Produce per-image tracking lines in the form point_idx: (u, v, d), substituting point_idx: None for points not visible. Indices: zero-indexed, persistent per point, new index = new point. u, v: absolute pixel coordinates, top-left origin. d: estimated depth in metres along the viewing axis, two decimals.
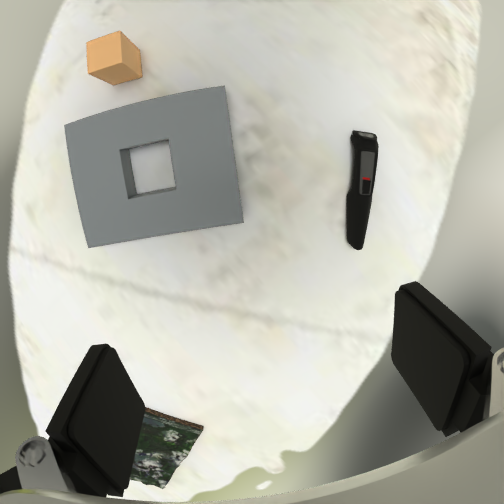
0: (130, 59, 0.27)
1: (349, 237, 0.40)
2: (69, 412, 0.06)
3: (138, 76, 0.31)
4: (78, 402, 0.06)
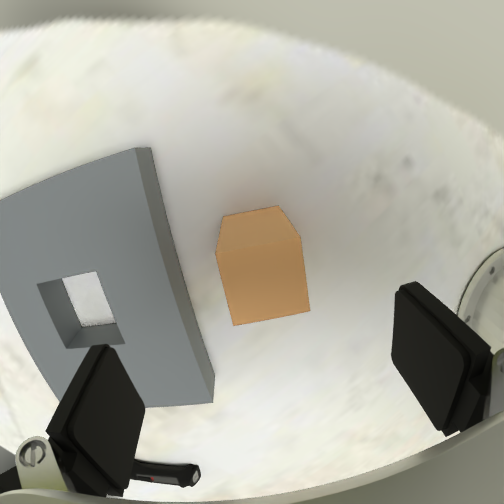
0: None
1: None
2: (69, 412, 0.06)
3: None
4: (78, 402, 0.06)
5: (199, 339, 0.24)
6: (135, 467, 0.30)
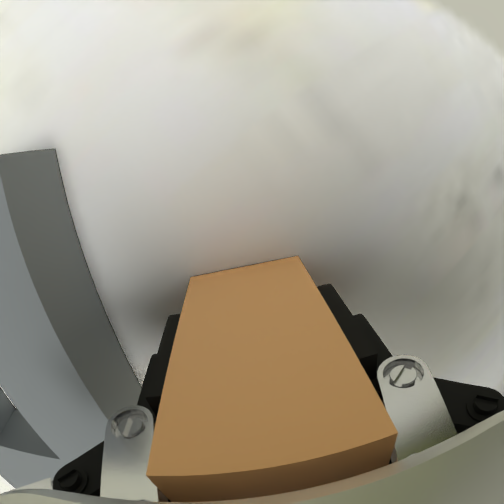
0: None
1: None
2: None
3: None
4: None
5: None
6: None
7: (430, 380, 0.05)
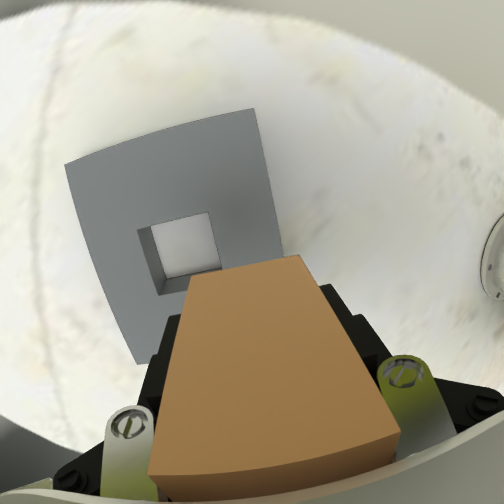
0: None
1: None
2: None
3: None
4: None
5: None
6: None
7: (430, 380, 0.05)
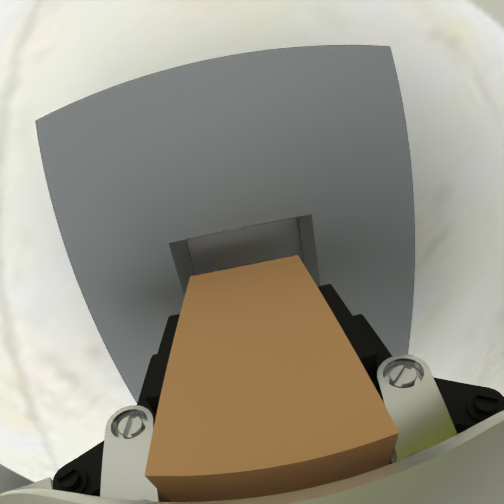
0: None
1: None
2: None
3: None
4: None
5: None
6: None
7: (430, 380, 0.05)
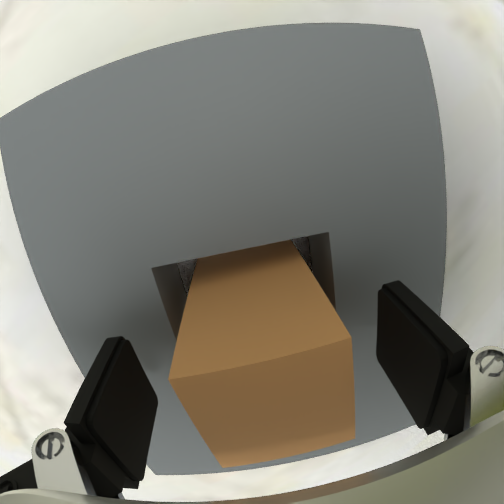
0: None
1: None
2: (88, 403, 0.06)
3: None
4: (96, 393, 0.06)
5: None
6: None
7: None
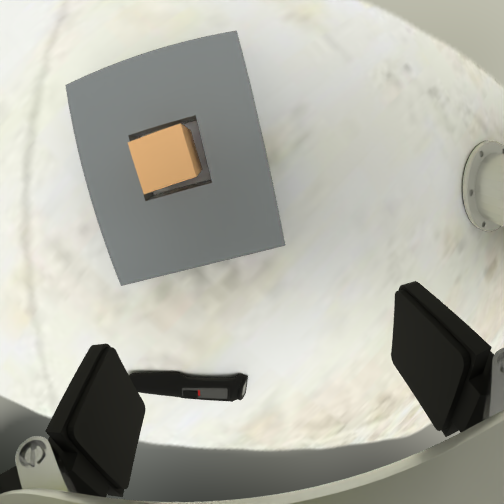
0: None
1: (135, 377, 0.34)
2: (70, 412, 0.06)
3: None
4: (78, 402, 0.06)
5: None
6: (181, 380, 0.35)
7: None
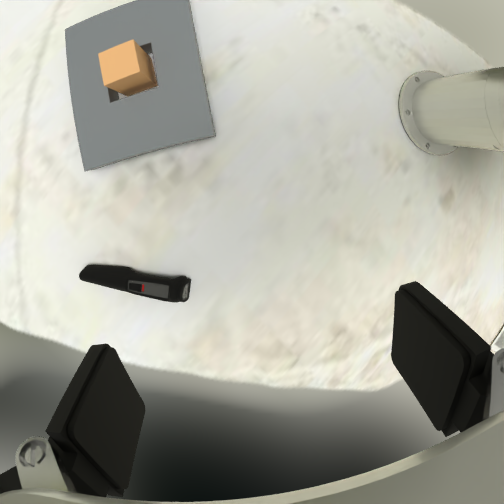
0: (125, 86, 0.28)
1: (90, 267, 0.38)
2: (69, 412, 0.06)
3: None
4: (78, 402, 0.06)
5: (207, 97, 0.33)
6: (129, 273, 0.39)
7: None
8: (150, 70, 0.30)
